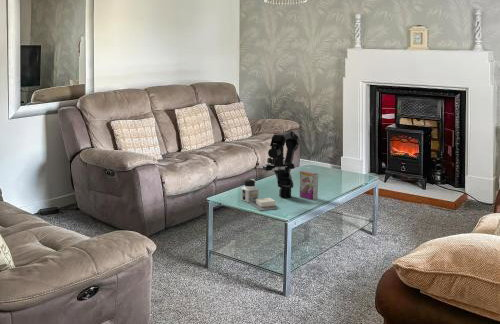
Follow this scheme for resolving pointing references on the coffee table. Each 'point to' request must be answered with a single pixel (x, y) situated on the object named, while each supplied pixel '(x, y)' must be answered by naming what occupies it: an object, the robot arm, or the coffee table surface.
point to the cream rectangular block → (265, 202)
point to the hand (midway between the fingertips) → (278, 180)
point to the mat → (262, 207)
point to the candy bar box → (309, 185)
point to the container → (249, 191)
